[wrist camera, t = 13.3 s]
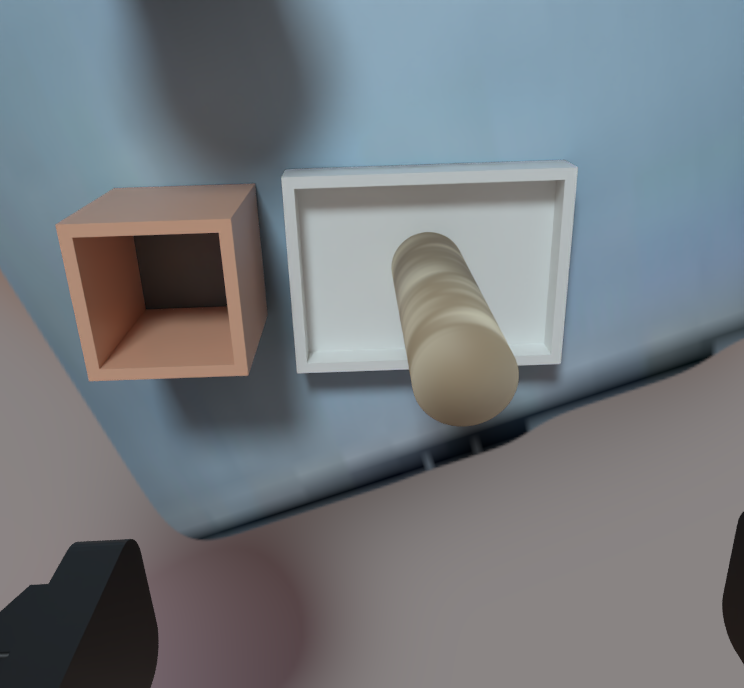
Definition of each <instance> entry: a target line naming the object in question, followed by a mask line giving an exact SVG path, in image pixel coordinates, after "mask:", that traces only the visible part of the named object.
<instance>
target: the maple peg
mask: <svg viewBox="0 0 744 688" xmlns="http://www.w3.org/2000/svg"><path fill="white" fill-rule="evenodd" d="M391 270H392V277H393V282H394V288H395V293H396V299H397V305H398V310H399V316H400V321H401V327H402V332H403V338H404V343H405V349H406V354H407V360H408V366H409V371H410V377H411V382H412V388H413V392H414V396H415V398H416V400H417V402H418V404H419V406H420V407H421V408H422V409H423V411H424V412H426V413H427V414H428V415H429V416H430V417H432V418H433V419H435V420H437V421H439V422H441V423H444V424H447V425H452V426H472V425H477V424H480V423H483V422H485V421H488V420H490V419H492V418H493V417H495V416H496V415H498V414H499V413H500V412H502V411H503V410H504V409H505V408H506V406H507V405H508V404H509V403H510V401H511V400H512V398H513V396H514V394H515V392H516V389H517V386H518V380H519V370H518V365H517V362H516V359H515V357H514V355H513V353H512V351H511V349H510V347H509V345H508V343H507V341H506V339H505V337H504V335H503V333H502V332H501V330H500V328H499V326H498V324H497V322H496V320H495V318H494V316H493V314H492V312H491V310H490V308H489V306H488V304H487V303H486V301H485V299H484V297H483V295H482V293H481V291H480V289H479V287H478V285H477V283H476V281H475V279H474V277H473V275H472V274H471V272H470V270H469V268H468V266H467V264H466V262H465V260H464V258H463V256H462V254H461V252H460V250H459V248H458V247H457V246H456V244H455V243H454V242H453V241H452V240H451V239H449V238H448V237H446V236H444V235H442V234H439V233H434V232H423V233H418V234H415V235H413V236H411V237H409V238H408V239H406V240H405V241H404V242H403V243H402V244H401V245H400V246H399V247H398V249H397V250H396V252H395V254H394V256H393V259H392V267H391Z"/></svg>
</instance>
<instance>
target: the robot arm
mask: <svg viewBox="0 0 744 688" xmlns="http://www.w3.org/2000/svg"><path fill="white" fill-rule="evenodd" d="M722 601H723V602H722V609H723V618H724V623H725V627H726V630H727V634H728V636H729V639H730V641H731V643H732V645H733V647H734V649H735V651H736V652H737V654H738V656H739V657H740V659H741V660H742V662H743V664H744V512H743V513H742V514H741V516H740V518H739V520H738V524H737V529H736V534H735V539H734V544H733V549H732V554H731V558H730V564H729V569H728V573H727V579H726V584H725V588H724V593H723V600H722ZM157 657H158V627H157V622H156V617H155V613H154V609H153V604H152V600H151V595H150V591H149V586H148V582H147V577H146V573H145V569H144V564H143V560H142V555H141V551H140V548H139V546H138V544H137V542H136V541H135V540H133V539H125V540H105V541H86V542H75V543H74V544H72V545H71V546H70V547H69V549H68V550H67V552H66V554H65V556H64V557H63V559H62V561H61V563H60V564H59V566H58V568H57V570H56V572H55V573H54V575H53V577H52V579H51V580H50V582H49V584H41V585H30V586H29V587H28V588H26V589H25V590H24V591H23V592H22V593H21V594H20V595H19V596H17V597H16V598H15V599H14V600H13V601H12V602H11V603H10V604H8V605H7V606H6V607H5V608H4V609H3V610H2V611H1V612H0V688H150V687H151V684H152V681H153V678H154V674H155V670H156V665H157Z"/></svg>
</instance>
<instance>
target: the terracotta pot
mask: <svg viewBox="0 0 744 688" xmlns="http://www.w3.org/2000/svg"><path fill="white" fill-rule="evenodd" d="M56 229H57V234H58V239H59V243H60V248H61V253H62V257H63V262H64V267H65V271H66V276H67V280H68V285H69V290H70V294H71V299H72V304H73V308H74V313H75V318H76V322H77V327H78V332H79V336H80V341H81V346H82V350H83V355H84V359H85V364H86V369H87V373H88V378H89V381H108V380H136V379H164V378H192V377H220V376H248V375H249V372H250V369H251V366H252V363H253V359H254V356H255V353H256V350H257V347H258V344H259V341H260V337H261V334H262V331H263V328H264V325H265V322H266V319H267V315H268V312H267V302H266V291H265V281H264V270H263V260H262V250H261V239H260V229H259V218H258V208H257V198H256V187H255V183H253V184H223V185H194V186H164V187H134V188H113V189H112V190H110V191H109V192H107V193H105V194H104V195H102V196H101V197H99V198H97V199H96V200H94V201H93V202H91V203H89V204H88V205H86V206H85V207H83V208H81V209H80V210H78V211H77V212H75V213H73V214H72V215H70V216H69V217H67V218H65V219H64V220H62V221H60V222H59V223H57V224H56ZM194 233H219V240H220V248H221V257H222V265H223V273H224V282H225V290H226V298H227V306H226V307H197V308H169V309H146V307H145V301H144V295H143V289H142V284H141V278H140V272H139V266H138V260H137V254H136V248H135V243H134V237H133V236H135V235H164V234H194Z"/></svg>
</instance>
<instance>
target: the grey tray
mask: <svg viewBox="0 0 744 688" xmlns="http://www.w3.org/2000/svg"><path fill="white" fill-rule="evenodd" d="M577 172H578V167H576V166H575V165H573V164H571V163H569V162H568V161H566V160H545V161H515V162H485V163H456V164H426V165H396V166H366V167H336V168H306V169H285V171H284V173H283V175H282V177H281V181H282V193H283V205H284V218H285V230H286V243H287V255H288V267H289V280H290V292H291V304H292V317H293V329H294V341H295V354H296V366H297V373H321V372H349V371H377V370H405V369H409V366H408V360H407V354H406V349H405V343H404V338H403V332H402V327H401V321H400V316H399V310H398V305H397V299H396V293H395V288H394V282H393V277H392V270H391V267H392V259H393V256H394V254H395V252H396V250H397V249H398V247H399V246H400V245H401V244H402V243H403V242H404V241H405V240H406V239H408V238H409V237H411V236H413V235H415V234H418V233H423V232H434V233H439V234H442V235H444V236H446V237H448V238H449V239H451V240H452V241H453V242H454V243H455V244H456V246H457V247H458V248H459V250H460V252H461V254H462V256H463V258H464V260H465V262H466V264H467V266H468V268H469V270H470V272H471V274H472V275H473V277H474V279H475V281H476V283H477V285H478V287H479V289H480V291H481V293H482V295H483V297H484V299H485V301H486V303H487V304H488V306H489V308H490V310H491V312H492V314H493V316H494V318H495V320H496V322H497V324H498V326H499V328H500V330H501V332H502V333H503V335H504V337H505V339H506V341H507V343H508V345H509V347H510V349H511V351H512V353H513V355H514V357H515V359H516V362H517V365H546V364H561V355H562V343H563V332H564V320H565V309H566V298H567V286H568V275H569V263H570V252H571V241H572V229H573V218H574V206H575V195H576V184H577Z"/></svg>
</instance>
